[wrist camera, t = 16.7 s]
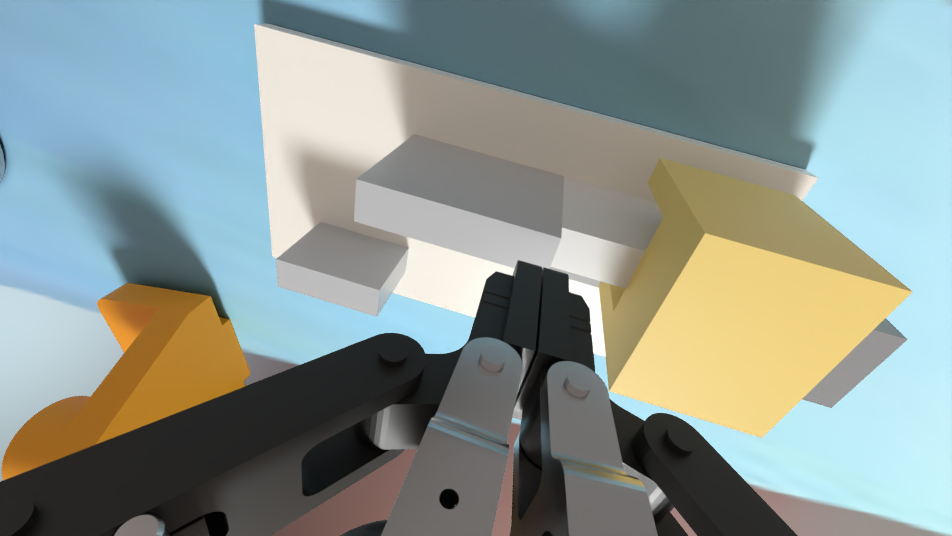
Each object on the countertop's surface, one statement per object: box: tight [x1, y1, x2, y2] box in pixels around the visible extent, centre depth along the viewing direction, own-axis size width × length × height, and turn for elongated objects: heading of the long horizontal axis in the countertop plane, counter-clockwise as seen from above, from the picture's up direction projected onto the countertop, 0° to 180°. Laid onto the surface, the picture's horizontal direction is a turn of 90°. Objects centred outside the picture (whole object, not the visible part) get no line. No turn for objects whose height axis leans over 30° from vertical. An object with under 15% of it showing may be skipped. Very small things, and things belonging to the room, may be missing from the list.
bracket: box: [2, 283, 251, 480], centre depth 26 cm, size 11×7×12 cm
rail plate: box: [254, 24, 907, 408], centre depth 17 cm, size 24×12×8 cm, turn 78°
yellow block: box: [599, 158, 912, 438], centre depth 14 cm, size 5×6×6 cm
